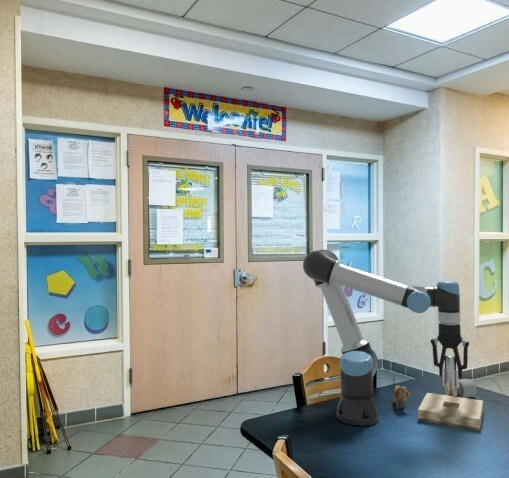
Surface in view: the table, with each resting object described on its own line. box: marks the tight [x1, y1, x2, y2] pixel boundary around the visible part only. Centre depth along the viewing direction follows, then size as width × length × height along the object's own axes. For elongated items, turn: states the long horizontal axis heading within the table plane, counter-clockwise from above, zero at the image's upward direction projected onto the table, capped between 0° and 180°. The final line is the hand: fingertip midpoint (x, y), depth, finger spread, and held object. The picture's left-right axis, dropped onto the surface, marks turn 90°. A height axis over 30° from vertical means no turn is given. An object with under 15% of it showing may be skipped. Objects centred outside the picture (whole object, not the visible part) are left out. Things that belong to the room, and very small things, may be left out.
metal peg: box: [444, 354, 457, 396], centre depth 167 cm, size 4×4×14 cm
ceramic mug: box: [454, 378, 478, 399], centre depth 187 cm, size 11×8×8 cm
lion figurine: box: [392, 385, 412, 410], centre depth 179 cm, size 15×5×9 cm, turn 179°
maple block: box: [417, 392, 484, 432], centre depth 167 cm, size 20×20×4 cm
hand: (450, 386), depth 167 cm, fingers closed on metal peg, 4 cm apart
